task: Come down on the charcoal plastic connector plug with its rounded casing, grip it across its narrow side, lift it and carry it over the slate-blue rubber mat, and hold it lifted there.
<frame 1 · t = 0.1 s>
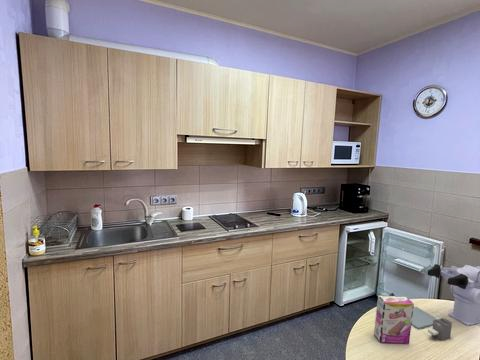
hand: (438, 276, 102), 22 cm above the table, tool horizontal, fingers open, 7 cm apart
candy bar box: (391, 340, 96), on the table
vaping device: (386, 320, 108), on the table
slate mat: (417, 318, 110), on the table
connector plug: (440, 336, 99), on the table
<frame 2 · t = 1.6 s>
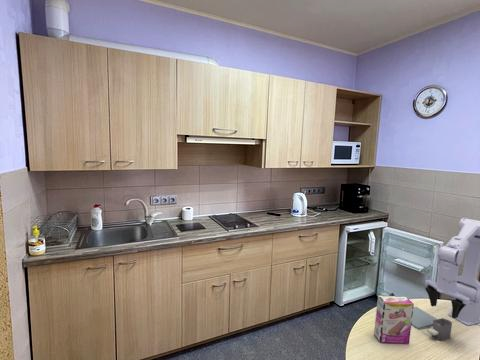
hand: (443, 311, 98), 10 cm above the table, tool pointing down, fingers open, 7 cm apart
nothing on the table moved.
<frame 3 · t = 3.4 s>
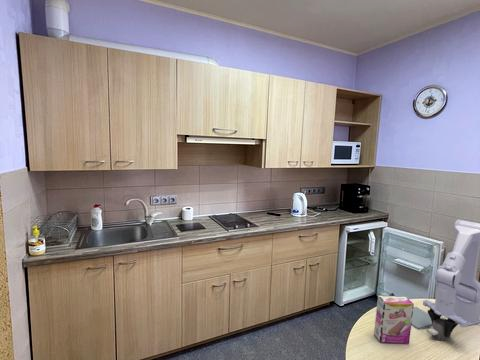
hand: (441, 332, 99), 2 cm above the table, tool pointing down, fingers closed on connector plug, 4 cm apart
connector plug: (440, 336, 99), on the table, touching gripper
everything else where it was.
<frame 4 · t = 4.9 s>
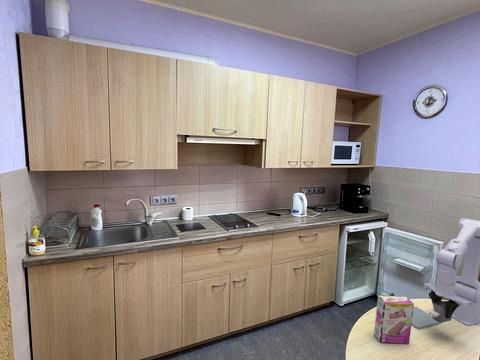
hand: (442, 314, 98), 9 cm above the table, tool pointing down, fingers closed on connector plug, 4 cm apart
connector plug: (441, 318, 98), point 7 cm above the table, touching gripper
everything else where it was.
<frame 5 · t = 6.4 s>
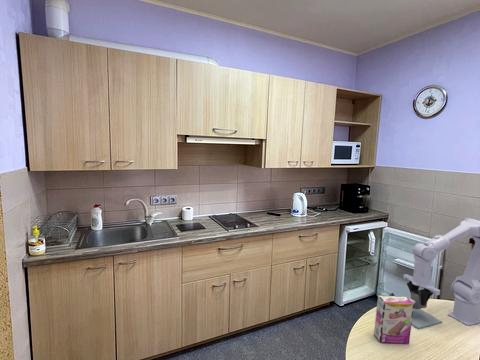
hand: (418, 302, 109), 7 cm above the table, tool pointing down, fingers closed on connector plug, 4 cm apart
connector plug: (418, 305, 109), point 6 cm above the table, touching gripper
everything else where it was.
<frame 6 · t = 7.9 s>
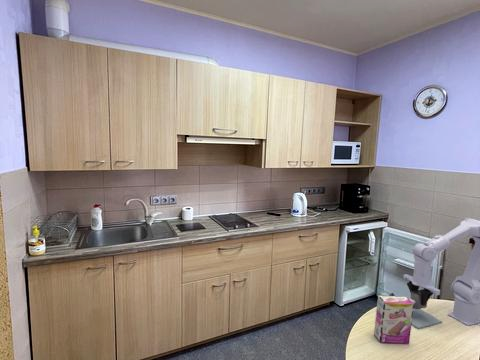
hand: (418, 302, 109), 7 cm above the table, tool pointing down, fingers closed on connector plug, 4 cm apart
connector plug: (418, 305, 109), point 6 cm above the table, touching gripper
everything else where it was.
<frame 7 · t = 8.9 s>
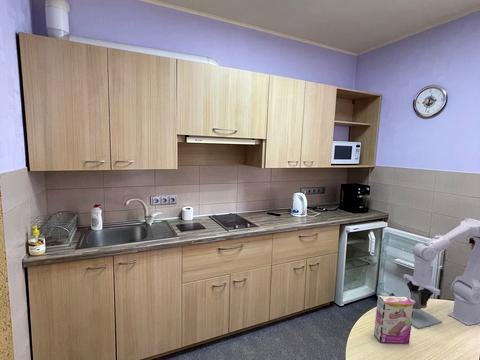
hand: (418, 302, 109), 7 cm above the table, tool pointing down, fingers closed on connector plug, 4 cm apart
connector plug: (418, 305, 109), point 6 cm above the table, touching gripper
everything else where it was.
at the end: the gripper is holding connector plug; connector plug point 5.7 cm above the table; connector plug inside the target area on the slate mat (0.1 cm from its centre), point 5.7 cm above the slate mat's base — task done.
